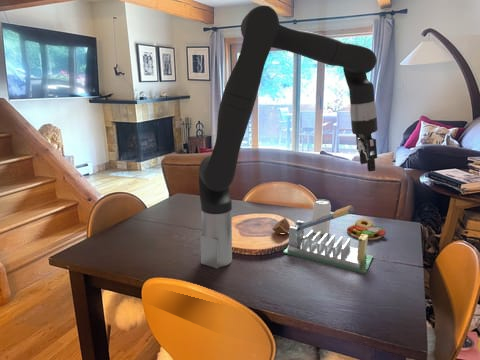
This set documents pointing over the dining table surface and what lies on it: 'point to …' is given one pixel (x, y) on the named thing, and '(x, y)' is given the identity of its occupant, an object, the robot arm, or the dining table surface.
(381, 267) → the dining table surface
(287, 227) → the fruit slice
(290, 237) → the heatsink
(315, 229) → the can
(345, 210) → the grey and tan bar
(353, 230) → the toy food set
